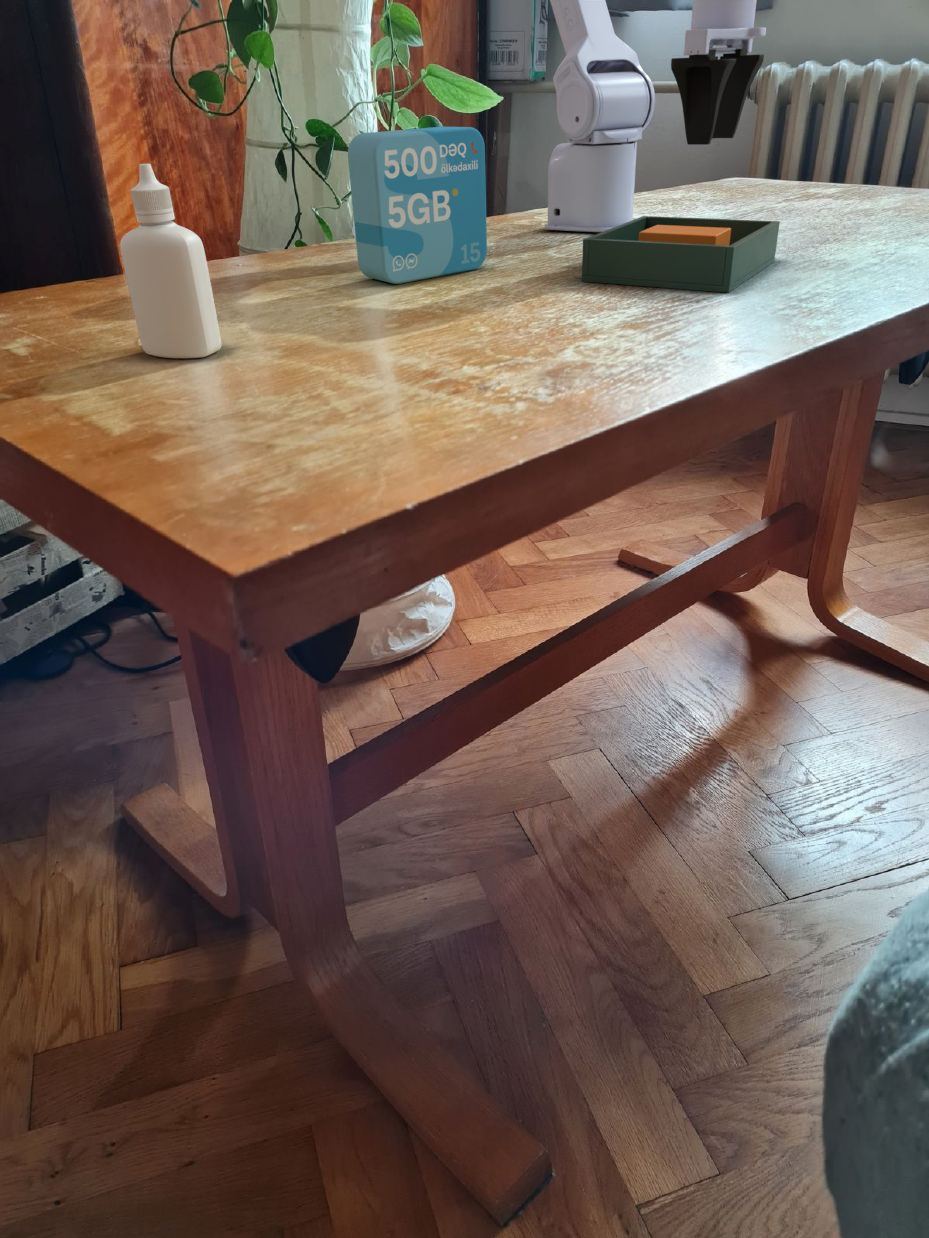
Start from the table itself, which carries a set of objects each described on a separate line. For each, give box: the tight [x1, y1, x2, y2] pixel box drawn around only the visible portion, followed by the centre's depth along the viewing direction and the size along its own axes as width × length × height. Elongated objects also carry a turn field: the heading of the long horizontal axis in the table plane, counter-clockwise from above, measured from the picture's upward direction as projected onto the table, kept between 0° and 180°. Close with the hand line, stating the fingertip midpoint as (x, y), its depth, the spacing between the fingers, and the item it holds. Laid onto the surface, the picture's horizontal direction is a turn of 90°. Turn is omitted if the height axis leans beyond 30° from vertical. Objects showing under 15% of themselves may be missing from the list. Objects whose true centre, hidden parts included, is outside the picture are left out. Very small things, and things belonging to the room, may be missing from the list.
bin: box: [581, 215, 780, 294], centre depth 80 cm, size 13×14×4 cm
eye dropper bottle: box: [119, 163, 222, 359], centre depth 60 cm, size 4×6×12 cm
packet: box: [639, 225, 731, 246], centre depth 80 cm, size 7×4×3 cm, turn 59°
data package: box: [347, 126, 488, 285], centre depth 81 cm, size 12×4×12 cm, turn 128°
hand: (711, 141), depth 88 cm, fingers open, 7 cm apart
